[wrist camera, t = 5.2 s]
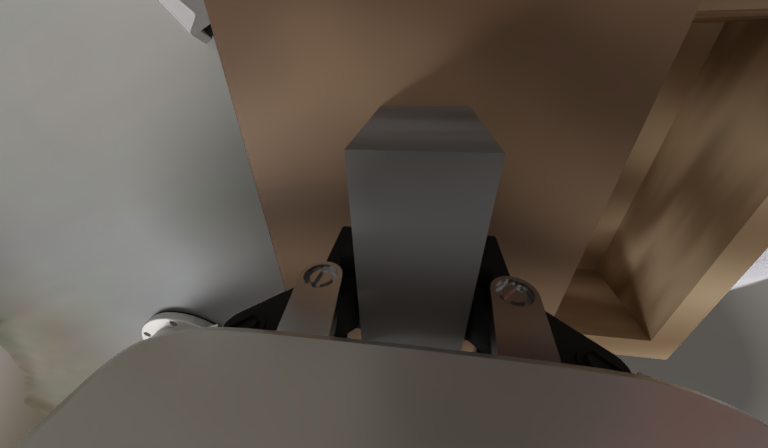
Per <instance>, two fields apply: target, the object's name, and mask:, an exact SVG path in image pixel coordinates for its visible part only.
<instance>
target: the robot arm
mask: <svg viewBox="0 0 768 448" xmlns="http://www.w3.org/2000/svg"><path fill="white" fill-rule="evenodd" d="M356 328H358V329H361V326H360V315H359V305H358V294H357V283H356V272H355V261H354V250H353V239H352V228H351V227H350V226H343V228H342V229H341V231H340V233H339V236H338V238H337V240H336V242H335V244H334V246H333V248H332V250H331V252H330V254H329V257H328V259H327V261H322V262H316V263H313V264H311V265H309V266H307V267H306V268H305V269H303V270H302V272H301V273H300V275H299V277H298V279H297V282H296V284H295V287H294V288H292V289H290V290H287V291H285V292H283V293H281V294H279V295H277V296H275V297H272V298H270V299H268V300H266V301H264V302H262V303H260V304H257V305H255V306H253V307H251V308H249V309H247V310H244V311H242V312H240V313H238V314H237V315H235V316H233V317H232V318H231V319H230V320H228V321H227V322H226V323H225V325H224V326H223V327H219V325H218V324H216V325H214V324H212V323H210V322H208V321H206V320H204V319H201V318H198V317H196V316H192V315H188V314H184V313H177V312H165V313H159V314H157V315H154V316H153V317H151V318H150V319H149V320H148V321H147V322H146V323H145V324H144V326H143V327H142V337H143V340H142V341H140V342H138V343H136V344H134V345H132V346H130V347H128V348H126V349H125V350H123V351H122V352H120V353H118V354H117V355H116V356H114V357H113V358H112V359H110V360H109V361H108V362H106V363H105V364H104V365H103V366H101V367H100V368H99V369H98V370H96V371H95V372H94V373H93V374H92V375H91V376H90V377H88V378H87V379H86V380H85V381H84V382H83V383H82V384H80V385H79V386H78V387H77V388H76V389H75V390H74V391H73V392H72V393H70V394H69V395H68V396H67V397H66V398H65V399H64V400H63V401H62V402H61V403H60V404H59V405H57V406H56V407H55V408H54V409H53V410H52V411H51V412H50V413H49V414H48V415H47V416H46V417H45V418H44V419H43V420H42V421H41V422H40V423H39V424H38V425H36V426H35V427H34V428H33V429H32V430H31V431H30V432H29V433H28V434H27V435H26V436H25V437H24V438H23V439H22V440H21V441H20V442H19V443H18V444H17V445H16V446H14V447H13V448H768V425H766V424H765V423H763V422H762V421H760V420H758V419H757V418H755V417H753V416H751V415H749V414H747V413H745V412H744V411H742V410H740V409H737V408H735V407H733V406H731V405H729V404H727V403H725V402H723V401H720V400H718V399H715V398H712V397H710V396H707V395H705V394H702V393H700V392H697V391H695V390H692V389H689V388H685V387H683V386H679V385H676V384H673V383H669V382H666V381H662V380H659V379H655V378H652V377H650V376H648V375H646V374H643V373H641V372H638V373H637V374H633V373H631V372H630V370H629V368H628V367H627V366H626V365H625V364H624V363H623V362H622V361H621V359H619V358H618V357H617V356H615V355H614V354H613V353H611V352H610V351H608V350H606V349H605V348H603V347H602V346H600V345H599V344H597V343H595V342H594V341H592V340H591V339H589V338H587V337H586V336H584V335H583V334H581V333H579V332H578V331H576V330H575V329H573V328H572V327H570V326H568V325H567V324H565V323H564V322H562V321H560V320H559V319H557V318H556V317H554V316H552V315H551V314H549V313H548V312H546V311H545V309H544V306H543V303H542V300H541V296H540V294H539V293H538V291H537V290H536V289H535V288H534V287H533V285H531V284H530V283H528V282H527V281H524V280H522V279H520V278H517V277H512V276H510V274H509V272H508V269H507V266H506V263H505V261H504V258H503V255H502V253H501V250H500V247H499V244H498V242H497V239H496V237H495V236H488V235H487V238H486V243H485V247H484V252H483V256H482V261H481V265H480V270H479V274H478V278H477V283H476V287H475V292H474V296H473V301H472V305H471V310H470V314H469V319H468V323H467V328H466V332H465V337H464V340H468V341H469V342H470V343H471V344H473V345H474V349H473V352H467V351H459V350H450V349H441V348H432V347H423V346H415V345H406V344H397V343H388V342H379V341H370V340H361V339H351V338H350V334H349V332H351V331H352V330H354V329H356Z"/></svg>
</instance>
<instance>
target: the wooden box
mask: <svg viewBox="0 0 768 448" xmlns="http://www.w3.org/2000/svg"><path fill="white" fill-rule="evenodd" d="M767 248H768V0H702V2H701V4H700V6H699V8H698V10H697V12H696V15H695V17H694V19H693V21H692V23H691V25H690V27H689V30H688V32H687V34H686V36H685V38H684V40H683V42H682V44H681V47H680V49H679V51H678V53H677V55H676V57H675V59H674V62H673V64H672V66H671V68H670V70H669V72H668V74H667V77H666V79H665V81H664V83H663V85H662V87H661V89H660V91H659V94H658V96H657V98H656V100H655V102H654V104H653V106H652V109H651V111H650V113H649V115H648V117H647V119H646V121H645V123H644V126H643V128H642V130H641V132H640V134H639V136H638V138H637V141H636V143H635V145H634V147H633V149H632V151H631V153H630V156H629V158H628V160H627V162H626V164H625V166H624V168H623V170H622V173H621V175H620V177H619V179H618V181H617V183H616V185H615V188H614V190H613V192H612V194H611V196H610V198H609V200H608V202H607V205H606V207H605V209H604V211H603V213H602V215H601V217H600V220H599V222H598V224H597V226H596V228H595V230H594V232H593V235H592V237H591V239H590V241H589V243H588V245H587V247H586V249H585V252H584V254H583V256H582V258H581V260H580V262H579V264H578V267H577V269H576V271H575V273H574V275H573V277H572V279H571V281H570V284H569V286H568V288H567V290H566V292H565V294H564V296H563V299H562V301H561V303H560V305H559V307H558V309H557V311H556V314H555V316H554V317H556V318H557V319H559V320H560V321H562V322H564V323H565V324H567V325H568V326H570V327H572V328H573V329H575V330H576V331H578V332H579V333H581V334H583V335H584V336H586V337H587V338H589V339H591V340H592V341H594V342H595V343H597V344H599V345H600V346H602V347H603V348H605V349H606V350H608V351H610V352H611V353H613V354H617V355H627V356H637V357H646V358H656V359H666V360H667V359H668V357H669V356H670V355H671V354H672V353H673V352H674V351H675V349H677V347H678V346H679V345H680V344H681V343H682V342H683V341H684V340H685V338H686V337H687V336H688V335H689V334H690V333H691V332H692V331H693V329H695V328H696V326H697V325H698V324H699V323H700V322H701V321H702V320H703V319H704V317H705V316H706V315H707V314H708V313H709V312H710V311H711V310H712V309H713V308H714V306H715V305H716V304H717V303H718V302H719V301H720V300H721V299H722V297H723V296H724V295H725V294H726V293H727V292H728V291H729V290H730V289H731V288H732V287H733V285H734V284H735V283H736V282H737V281H738V280H739V279H740V278H741V277H742V276H743V274H744V273H745V272H746V271H747V270H748V269H749V268H750V267H751V266H752V264H753V263H754V262H755V261H756V260H757V259H758V258H759V257H760V256H761V255H762V253H763V252H764V251H765V250H766V249H767Z"/></svg>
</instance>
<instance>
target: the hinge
mask: <svg viewBox="0 0 768 448" xmlns="http://www.w3.org/2000/svg"><path fill="white" fill-rule="evenodd" d="M159 1H160V2H161V3H162V4H163V6H164V7H165V8H166V9H167V10H168V11H169V12H170V13H171V14H172V15H173V16H174V17H175V18H176V19H177V20H178V21H179V22H180V23H181V24H182V25H183V26H184V27H185V28H186V29H187V30H188V31H189V32H190V33H191V34H192V35H193V36H194V37H196V38H198V39H199V40H201V41H202V42H204V43H208V42H209V41H210V40H211V37H210V36H209V35H208V34H207V33H206V32H205V31H204V30H203V29H204V28H205V27H207V26H208V25H210V21H209V17H208V14H207V10H206V7H205V3H204V0H159Z"/></svg>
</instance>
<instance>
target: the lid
mask: <svg viewBox="0 0 768 448" xmlns="http://www.w3.org/2000/svg"><path fill="white" fill-rule="evenodd" d="M701 2H702V0H204V3H205V7H206V10H207V14H208V17H209V21H210V24H211V28H212V31H213V35H214V38H215V42H216V46H217V49H218V53H219V56H220V60H221V63H222V67H223V70H224V74H225V77H226V81H227V84H228V88H229V92H230V95H231V99H232V102H233V106H234V109H235V113H236V116H237V120H238V123H239V127H240V131H241V134H242V138H243V141H244V145H245V148H246V152H247V155H248V159H249V162H250V166H251V169H252V173H253V177H254V180H255V184H256V187H257V191H258V194H259V198H260V201H261V205H262V208H263V212H264V215H265V219H266V223H267V226H268V230H269V233H270V237H271V240H272V244H273V247H274V251H275V254H276V258H277V262H278V265H279V269H280V272H281V276H282V279H283V283H284V286H285V290H286V291H287V290H290V289H292V288H294V287H295V284H296V282H297V279H298V277H299V275H300V273H301V272H302V270H303V269H305V268H306V267H307V266H309V265H311V264H313V263H316V262H322V261H327V259H328V257H329V254H330V252H331V250H332V248H333V246H334V244H335V242H336V240H337V238H338V236H339V233H340V231H341V229H342V228H343V226H350V227H351V228H352V239H353V250H354V261H355V272H356V283H357V294H358V305H359V315H360V326H361V329H358V328H356V329H354V330H352V331H351V332H349V334H350V338H351V339H361V340H370V341H379V342H388V343H397V344H406V345H415V346H423V347H432V348H441V349H450V350H459V351H467V352H473V349H474V345H473V344H471V343H470V342H469V341H468V340H464V337H465V332H466V328H467V323H468V319H469V314H470V310H471V305H472V301H473V296H474V292H475V287H476V283H477V278H478V274H479V270H480V265H481V261H482V256H483V252H484V247H485V243H486V238H487V235H488V236H495V237H496V239H497V242H498V244H499V247H500V250H501V253H502V255H503V258H504V261H505V263H506V266H507V269H508V272H509V274H510V276H512V277H517V278H520V279H522V280H524V281H527V282H528V283H530V284H531V285H533V287H534V288H535V289H536V290H537V291H538V293H539V294H540V296H541V300H542V303H543V306H544V309H545V311H546V312H548V313H549V314H551V315H552V316H555V314H556V311H557V309H558V307H559V305H560V303H561V301H562V299H563V296H564V294H565V292H566V290H567V288H568V286H569V284H570V281H571V279H572V277H573V275H574V273H575V271H576V269H577V267H578V264H579V262H580V260H581V258H582V256H583V254H584V252H585V249H586V247H587V245H588V243H589V241H590V239H591V237H592V235H593V232H594V230H595V228H596V226H597V224H598V222H599V220H600V217H601V215H602V213H603V211H604V209H605V207H606V205H607V202H608V200H609V198H610V196H611V194H612V192H613V190H614V188H615V185H616V183H617V181H618V179H619V177H620V175H621V173H622V170H623V168H624V166H625V164H626V162H627V160H628V158H629V156H630V153H631V151H632V149H633V147H634V145H635V143H636V141H637V138H638V136H639V134H640V132H641V130H642V128H643V126H644V123H645V121H646V119H647V117H648V115H649V113H650V111H651V109H652V106H653V104H654V102H655V100H656V98H657V96H658V94H659V91H660V89H661V87H662V85H663V83H664V81H665V79H666V77H667V74H668V72H669V70H670V68H671V66H672V64H673V62H674V59H675V57H676V55H677V53H678V51H679V49H680V47H681V44H682V42H683V40H684V38H685V36H686V34H687V32H688V30H689V27H690V25H691V23H692V21H693V19H694V17H695V15H696V12H697V10H698V8H699V6H700V4H701Z"/></svg>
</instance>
